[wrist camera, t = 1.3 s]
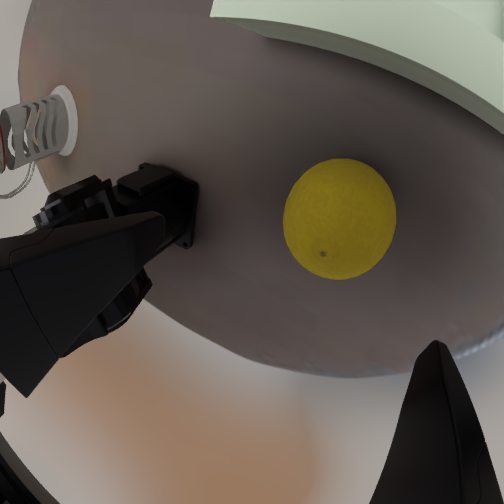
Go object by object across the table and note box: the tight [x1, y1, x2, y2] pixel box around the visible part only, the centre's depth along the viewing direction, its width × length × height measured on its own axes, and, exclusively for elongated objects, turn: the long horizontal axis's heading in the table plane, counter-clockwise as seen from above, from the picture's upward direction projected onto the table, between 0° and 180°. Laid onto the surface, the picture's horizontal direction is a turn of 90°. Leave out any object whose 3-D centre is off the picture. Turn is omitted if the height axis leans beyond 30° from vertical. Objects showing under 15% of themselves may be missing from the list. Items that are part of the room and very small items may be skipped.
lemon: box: [283, 158, 396, 280], centre depth 13 cm, size 6×6×8 cm
